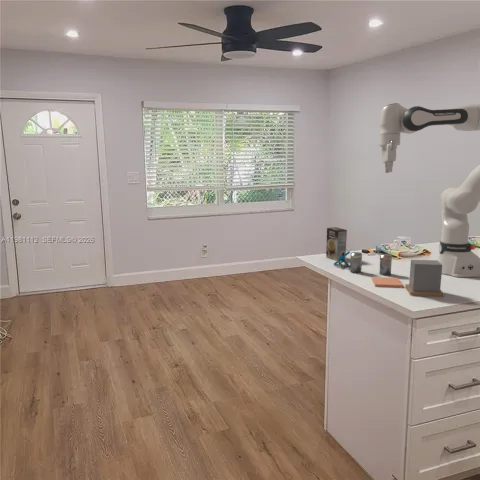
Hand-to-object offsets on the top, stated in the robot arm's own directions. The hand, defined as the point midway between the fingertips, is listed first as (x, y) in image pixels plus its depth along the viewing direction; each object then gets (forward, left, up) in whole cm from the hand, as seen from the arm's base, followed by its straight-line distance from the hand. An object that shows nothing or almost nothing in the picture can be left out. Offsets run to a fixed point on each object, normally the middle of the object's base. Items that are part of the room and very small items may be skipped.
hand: (388, 172), depth 193 cm
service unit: (-11, +31, -46) cm, 56 cm away
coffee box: (+21, -22, -46) cm, 56 cm away
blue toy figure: (+19, -7, -46) cm, 51 cm away
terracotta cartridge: (0, +6, -46) cm, 46 cm away
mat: (+2, +20, -46) cm, 50 cm away
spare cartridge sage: (+13, +4, -46) cm, 48 cm away
